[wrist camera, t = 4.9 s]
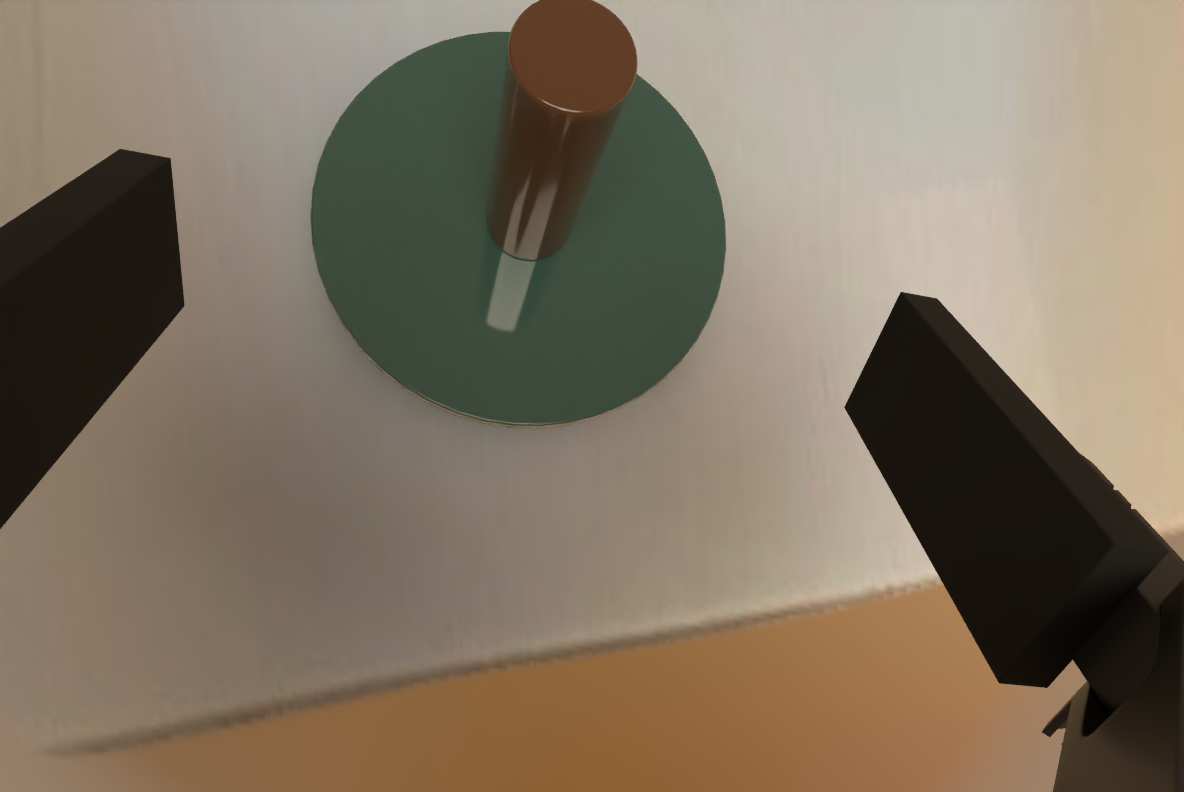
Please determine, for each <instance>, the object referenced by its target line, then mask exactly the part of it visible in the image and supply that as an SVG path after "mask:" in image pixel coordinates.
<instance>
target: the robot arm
mask: <svg viewBox="0 0 1184 792" xmlns="http://www.w3.org/2000/svg"><path fill="white" fill-rule="evenodd" d="M183 307H184V295H183V285H182V274H181V264H180V253H179V242H178V232H177V221H176V211H175V200H174V190H173V179H172V168H171V158H166V157H161V156H155V155H150V154H145V153H139V152H134V151H128V150H123V149H119V150H118V151H116V152H115V153H113V154H112V155H110V156H109V157H107V158H106V159H104V160H103V161H101V162H100V163H98V164H97V165H95V166H94V167H92V168H90V169H89V170H87V171H86V172H84V173H83V174H81V175H80V176H78V177H77V178H75V179H74V180H72V181H71V182H69V183H68V184H66V185H65V186H63V187H62V188H60V189H59V190H57V191H55V192H54V193H52V194H51V195H49V196H48V197H46V198H45V199H43V200H42V201H40V202H39V203H37V204H36V205H34V206H33V207H31V208H30V209H28V210H27V211H25V212H24V213H22V214H20V215H19V216H17V217H16V218H14V219H13V220H11V221H10V222H8V223H7V224H5V225H4V226H2V227H1V228H0V529H1V528H2V526H3V525H4V524H5V523H6V521H7V520H8V519H9V518H10V517H11V515H12V514H13V513H14V512H15V511H16V509H17V508H18V507H19V506H20V504H21V503H22V502H23V501H24V500H25V498H26V497H27V496H28V495H29V494H30V492H31V491H32V490H33V489H34V488H35V486H36V485H37V484H38V483H39V481H40V480H41V479H42V478H43V477H44V475H45V474H46V473H47V472H48V471H49V469H50V468H51V467H52V466H53V465H54V463H55V462H56V461H57V460H58V458H59V457H60V456H61V455H62V454H63V452H64V451H65V450H66V449H67V448H68V446H69V445H70V444H71V443H72V441H73V440H74V439H75V438H76V437H77V435H78V434H79V433H80V432H81V431H82V429H83V428H84V427H85V426H86V425H87V423H88V422H89V421H90V420H91V418H92V417H93V416H94V415H95V414H96V412H97V411H98V410H99V409H100V408H101V406H102V405H103V404H104V403H105V402H106V400H107V399H108V398H109V397H110V395H111V394H112V393H113V392H114V391H115V389H116V388H117V387H118V386H119V385H120V383H121V382H122V381H123V380H124V378H125V377H126V376H127V375H128V374H129V372H130V371H131V370H132V369H133V368H134V366H135V365H136V364H137V363H138V362H139V360H140V359H141V358H142V357H143V355H144V354H145V353H146V352H147V351H148V349H149V348H150V347H151V346H152V345H153V343H154V342H155V341H156V340H157V338H158V337H159V336H160V335H161V334H162V332H163V331H164V330H165V329H166V328H167V326H168V325H169V324H170V323H171V322H172V320H173V319H174V318H175V317H176V315H177V314H178V313H179V312H180V311H181V309H182V308H183ZM844 408H845V409H846V411H847V413H848V415H849V416H850V418H851V420H852V422H853V424H854V425H855V427H856V429H857V431H858V432H859V434H860V436H861V438H862V440H863V441H864V443H865V445H866V447H867V449H868V450H869V452H870V454H871V456H872V457H873V459H874V461H875V463H876V465H877V466H878V468H879V470H880V472H881V474H882V475H883V477H884V479H885V481H886V482H887V484H888V486H889V488H890V490H891V491H892V493H893V495H894V497H895V498H896V500H897V502H898V504H899V506H900V507H901V509H902V511H903V513H904V515H905V516H906V518H907V520H908V522H909V523H910V525H911V527H912V529H913V531H914V532H915V534H916V536H917V538H918V539H919V541H920V543H921V545H922V547H923V548H924V550H925V552H926V554H927V556H928V557H929V559H930V561H931V563H932V564H933V566H934V568H935V570H936V572H937V573H938V575H939V577H940V579H941V581H942V582H943V584H944V586H945V588H946V589H947V591H948V593H949V595H950V597H951V598H952V600H953V602H954V604H955V605H956V607H957V609H958V611H959V612H960V614H961V616H962V618H963V620H964V622H965V623H966V625H967V627H968V629H969V630H970V632H971V634H972V636H973V638H974V639H975V641H976V643H977V645H978V646H979V648H980V650H981V652H982V654H983V655H984V657H985V659H986V661H987V663H988V664H989V666H990V668H991V670H992V671H993V673H994V675H995V677H996V679H997V680H998V682H999V683H1002V684H1013V685H1024V686H1035V687H1045V688H1047V687H1048V686H1049V685H1050V684H1051V683H1052V682H1053V681H1054V680H1055V678H1056V677H1057V676H1058V675H1059V674H1060V673H1061V672H1062V671H1063V670H1064V669H1065V667H1066V666H1067V665H1068V664H1069V663H1070V662H1071V661H1072V660H1074V662H1075V663H1076V665H1077V666H1078V668H1079V669H1080V671H1081V672H1082V674H1083V675H1084V677H1085V678H1086V680H1087V682H1086V683H1085V684H1084V685H1083V686H1082V687H1081V688H1080V689H1079V690H1078V691H1077V692H1076V694H1075V695H1074V696H1073V697H1072V698H1071V699H1070V700H1069V701H1068V702H1067V703H1066V704H1065V705H1064V706H1063V707H1062V709H1061V710H1060V711H1059V712H1058V713H1057V714H1056V715H1055V716H1054V717H1053V718H1052V719H1051V720H1050V721H1049V722H1048V724H1047V725H1046V726H1045V728H1044V730H1043V731H1042V732H1043V733H1044V734H1046V735H1047V736H1049V737H1050V736H1051V735H1052V734H1053V733H1054V732H1055V731H1056V730H1057V729H1062V728H1066V731H1065V735H1064V740H1063V743H1062V750H1061V755H1060V760H1059V765H1058V770H1057V775H1056V780H1055V784H1054V790H1053V792H1184V561H1183V560H1182V559H1181V558H1180V557H1179V556H1178V555H1177V553H1176V552H1175V551H1174V550H1173V549H1172V548H1171V547H1170V546H1169V545H1168V544H1167V543H1166V542H1165V540H1164V539H1163V538H1162V537H1161V536H1160V535H1159V534H1158V533H1157V532H1156V531H1155V530H1154V529H1153V528H1152V526H1151V525H1150V524H1149V523H1148V522H1147V521H1146V520H1145V519H1144V518H1143V517H1142V516H1141V515H1140V514H1139V512H1138V511H1137V510H1135V509H1131V504H1130V503H1129V502H1128V501H1127V499H1126V498H1125V497H1124V496H1123V495H1122V494H1121V493H1120V492H1119V491H1118V490H1113V487H1114V485H1113V484H1112V483H1111V482H1110V481H1109V480H1108V479H1107V478H1106V477H1105V476H1104V475H1103V474H1102V473H1101V471H1100V470H1099V469H1098V468H1097V467H1096V466H1095V465H1094V464H1093V463H1092V462H1091V461H1089V460H1088V459H1087V458H1085V457H1084V456H1082V455H1081V454H1080V453H1079V452H1078V451H1077V450H1076V449H1075V448H1074V447H1073V446H1072V445H1071V444H1070V443H1069V442H1068V440H1067V439H1066V438H1065V437H1064V436H1063V435H1062V434H1061V433H1060V432H1059V431H1058V430H1057V429H1056V427H1055V426H1054V425H1053V424H1052V423H1051V422H1050V421H1049V420H1048V419H1047V418H1046V417H1045V415H1044V414H1043V413H1042V412H1041V411H1040V410H1039V409H1038V408H1037V407H1036V406H1035V405H1034V404H1033V402H1032V401H1031V400H1030V399H1029V398H1028V397H1027V396H1026V395H1025V394H1024V393H1023V392H1022V390H1021V389H1020V388H1019V387H1018V386H1017V385H1016V384H1015V383H1014V382H1013V381H1012V380H1011V379H1010V377H1009V376H1008V375H1007V374H1006V373H1005V372H1004V371H1003V370H1002V369H1001V368H1000V367H999V365H998V364H997V363H996V362H995V361H994V360H993V359H992V358H991V357H990V356H989V355H988V353H987V352H986V351H985V350H984V349H983V348H982V347H981V346H980V345H979V344H978V343H977V342H976V340H975V339H974V338H973V337H972V336H971V335H970V334H969V333H968V332H967V331H966V330H965V328H964V327H963V326H962V325H961V324H960V323H959V322H958V321H957V320H956V319H955V318H954V317H953V315H952V314H951V313H950V312H949V311H948V310H947V309H946V308H945V307H944V306H943V305H942V303H941V302H940V301H939V300H938V299H937V298H931V297H926V296H920V295H915V294H909V293H904V292H901V293H900V295H899V297H898V299H897V301H896V303H895V305H894V307H893V309H892V311H891V313H890V315H889V317H888V319H887V321H886V323H885V326H884V328H883V330H882V332H881V334H880V336H879V338H878V340H877V342H876V344H875V346H874V348H873V350H872V352H871V354H870V356H869V358H868V360H867V362H866V364H865V366H864V368H863V370H862V373H861V375H860V377H859V379H858V381H857V383H856V385H855V387H854V389H853V391H852V393H851V395H850V397H849V399H848V401H847V403H846V405H845V407H844Z"/></svg>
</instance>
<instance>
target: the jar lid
mask: <svg viewBox="0 0 1184 792" xmlns="http://www.w3.org/2000/svg"><path fill="white" fill-rule="evenodd" d="M636 73H637V54H636V49H635V45H634V42H633V40H632V37H631V35H630V33H629V31H628V30H627V28H626V27H625V25H624V24H623V23H622V21H621V20H620V19H619V18H618V17H617V16H616V15H615V14H614V13H612V12H611V11H610V10H609V9H607V8H606V7H604V6H603V5H601V4H599V3H597V2H595V1H592V0H540V1H538V2H536V3H534V4H532V5H531V6H530V7H528V8H527V9H526V10H525V11H524V12H523V13H522V14H521V15H520V16H519V17H518V19H517V20H516V22H515V24H514V25H513V27H512V30H511V32H488V33H480V34H471V35H465V36H461V37H457V38H453V39H449V40H445V41H441V42H439V43H436V44H434V45H431V46H428V47H426V48H423V49H421V50H418V51H416V52H414V53H413V54H411V55H409V56H407V57H405V58H404V59H402V60H400V61H398V62H396V63H395V64H393V65H392V66H391V67H389V68H388V69H387V70H385V71H384V72H382V73H381V74H380V75H378V76H377V77H376V78H374V79H373V80H372V81H371V82H370V83H369V84H368V85H367V86H366V87H365V88H364V89H363V90H362V91H361V92H360V93H359V94H358V95H357V96H356V97H355V99H354V100H353V101H352V103H351V104H350V105H349V106H348V108H347V109H346V110H345V112H344V113H343V114H342V116H341V117H340V119H339V120H338V122H337V124H336V126H335V127H334V129H333V131H332V133H331V135H330V136H329V138H328V140H327V143H326V145H325V148H324V151H323V153H322V156H321V158H320V161H319V164H318V168H317V172H316V177H315V181H314V186H313V190H312V204H311V230H312V243H313V249H314V253H315V258H316V262H317V267H318V271H319V274H320V277H321V279H322V282H323V285H324V287H325V290H326V293H327V295H328V298H329V300H330V302H331V304H332V306H333V308H334V309H335V311H336V313H337V315H338V317H339V319H340V320H341V322H342V324H343V326H344V328H345V329H346V330H347V332H348V333H349V334H350V336H351V337H352V339H353V340H354V341H355V343H356V344H357V345H358V347H359V348H360V349H361V351H362V352H363V353H364V354H365V355H366V356H367V357H368V358H369V359H370V360H371V361H372V362H373V363H374V364H375V365H376V366H377V367H378V368H379V369H380V370H381V371H382V372H383V373H384V374H386V375H387V376H388V377H389V378H391V379H392V380H393V381H394V382H396V383H397V384H398V385H400V386H401V387H402V388H403V389H405V390H407V391H408V392H410V393H412V394H413V395H415V396H417V397H418V398H420V399H422V400H423V401H425V402H427V403H428V404H430V405H433V406H435V407H437V408H440V409H442V410H444V411H446V412H449V413H451V414H453V415H456V416H460V417H463V418H466V419H470V420H473V421H477V422H480V423H485V424H491V425H497V426H504V427H512V428H544V427H554V426H564V425H569V424H573V423H577V422H581V421H585V420H589V419H593V418H595V417H598V416H600V415H603V414H606V413H608V412H611V411H613V410H616V409H618V408H620V407H621V406H623V405H625V404H627V403H629V402H630V401H632V400H634V399H636V398H638V397H639V396H641V395H642V394H644V393H645V392H646V391H648V390H649V389H650V388H652V387H653V386H654V385H656V384H657V383H658V382H660V381H661V380H662V379H664V378H665V377H666V376H667V375H668V374H669V373H670V372H671V371H672V370H673V369H674V368H675V367H676V366H677V365H678V364H679V363H680V362H681V361H682V359H683V358H684V357H685V355H686V354H687V353H688V351H689V350H690V349H691V347H692V346H693V345H694V343H695V342H696V341H697V339H698V337H699V335H700V334H701V332H702V330H703V328H704V327H705V325H706V323H707V321H708V319H709V317H710V314H711V312H712V309H713V307H714V304H715V302H716V299H717V297H718V293H719V288H720V284H721V280H722V276H723V271H724V261H725V251H726V237H725V220H724V213H723V207H722V201H721V197H720V193H719V190H718V186H717V183H716V179H715V176H714V173H713V171H712V169H711V167H710V164H709V162H708V160H707V157H706V155H705V153H704V151H703V149H702V147H701V146H700V144H699V142H698V141H697V139H696V137H695V135H694V134H693V132H692V130H691V129H690V128H689V126H688V125H687V124H686V122H685V121H684V120H683V119H682V117H681V116H680V115H679V113H678V112H677V111H676V110H675V108H674V107H673V106H672V105H671V104H670V103H669V102H668V101H667V100H666V99H665V98H664V97H663V96H662V95H661V94H660V93H659V92H658V91H657V90H656V89H654V88H653V87H652V86H651V85H650V84H648V83H647V82H646V81H645V80H644V79H642V78H641V77H640V76H639V75H637V74H636Z"/></svg>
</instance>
